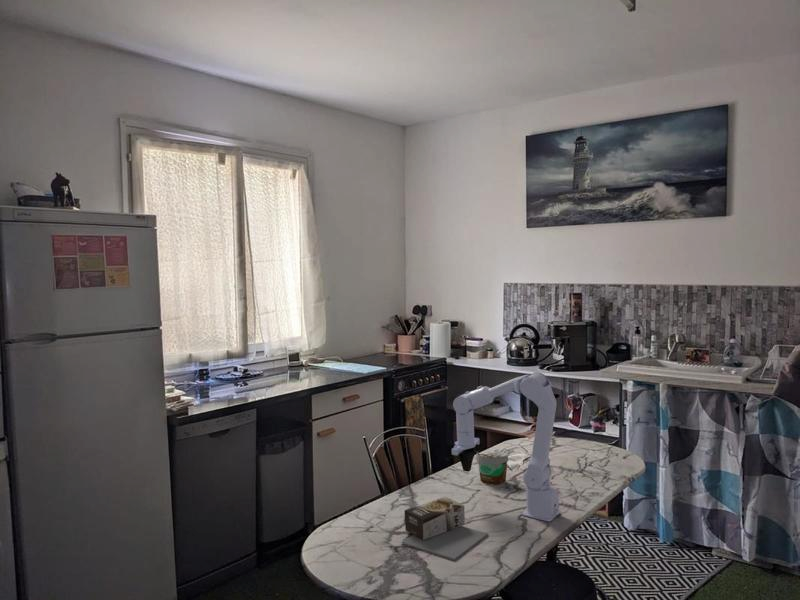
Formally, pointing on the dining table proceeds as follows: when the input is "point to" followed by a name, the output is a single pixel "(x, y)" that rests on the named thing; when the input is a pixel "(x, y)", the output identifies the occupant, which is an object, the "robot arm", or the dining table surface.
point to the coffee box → (434, 518)
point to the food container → (492, 468)
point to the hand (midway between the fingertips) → (466, 470)
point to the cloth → (516, 464)
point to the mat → (448, 542)
